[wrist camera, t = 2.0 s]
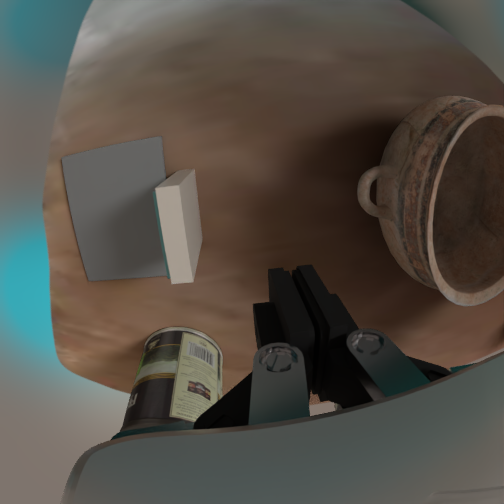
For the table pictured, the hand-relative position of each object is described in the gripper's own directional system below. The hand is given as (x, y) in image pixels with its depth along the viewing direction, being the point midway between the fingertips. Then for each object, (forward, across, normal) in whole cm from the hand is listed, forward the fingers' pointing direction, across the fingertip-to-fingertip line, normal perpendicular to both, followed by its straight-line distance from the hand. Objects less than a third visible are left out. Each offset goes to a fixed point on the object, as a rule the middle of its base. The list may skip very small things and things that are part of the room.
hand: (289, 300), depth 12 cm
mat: (+18, +13, 0) cm, 22 cm away
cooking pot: (+18, -20, -1) cm, 27 cm away
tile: (+18, +6, 0) cm, 19 cm away
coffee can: (+18, +10, +19) cm, 28 cm away
